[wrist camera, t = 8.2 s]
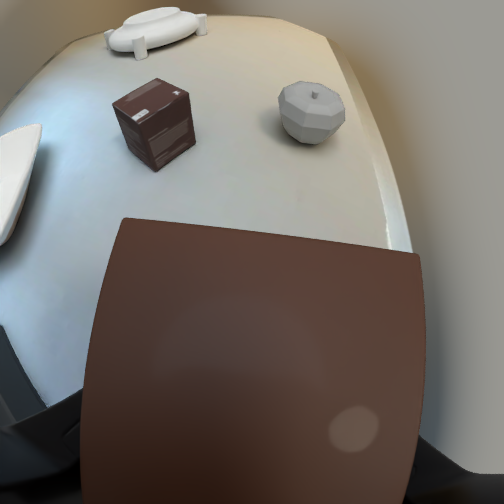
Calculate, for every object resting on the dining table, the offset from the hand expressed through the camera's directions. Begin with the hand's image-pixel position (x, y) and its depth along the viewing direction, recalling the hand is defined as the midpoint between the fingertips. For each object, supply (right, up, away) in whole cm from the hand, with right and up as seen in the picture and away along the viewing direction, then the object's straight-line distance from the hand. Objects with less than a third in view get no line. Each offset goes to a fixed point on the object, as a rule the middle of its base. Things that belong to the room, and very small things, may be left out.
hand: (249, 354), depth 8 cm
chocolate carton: (0, -4, +5) cm, 7 cm away
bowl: (-35, +9, +17) cm, 40 cm away
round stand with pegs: (-22, +51, +36) cm, 66 cm away
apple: (+6, +17, +23) cm, 29 cm away
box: (-10, +15, +21) cm, 28 cm away
